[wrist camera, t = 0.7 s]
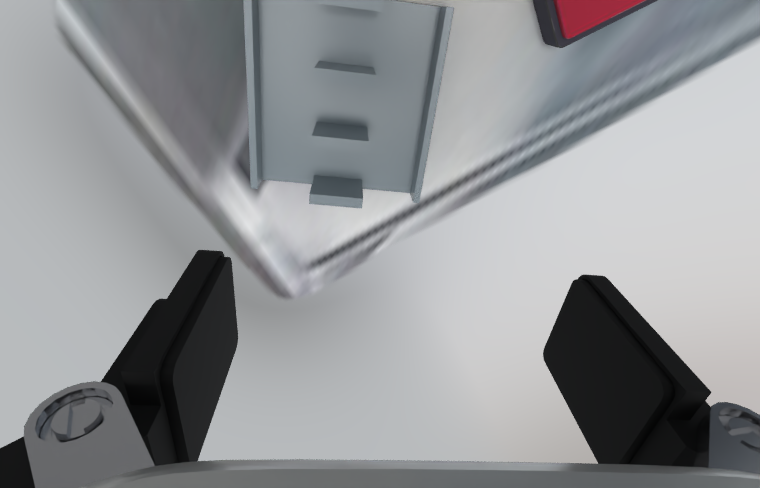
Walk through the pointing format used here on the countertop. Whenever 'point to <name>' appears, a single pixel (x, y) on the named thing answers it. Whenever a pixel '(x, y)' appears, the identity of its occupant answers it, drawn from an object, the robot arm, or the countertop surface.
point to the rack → (343, 93)
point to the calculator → (580, 17)
